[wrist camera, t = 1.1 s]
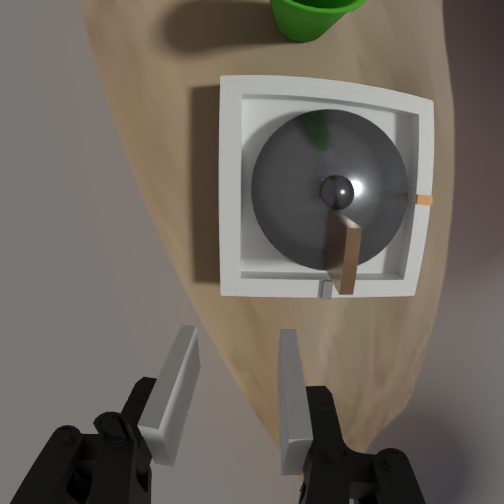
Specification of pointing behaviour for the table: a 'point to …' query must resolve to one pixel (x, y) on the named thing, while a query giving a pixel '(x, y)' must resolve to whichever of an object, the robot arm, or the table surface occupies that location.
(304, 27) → the cup
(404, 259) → the white square tray
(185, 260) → the table surface
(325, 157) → the dial
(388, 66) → the table surface
